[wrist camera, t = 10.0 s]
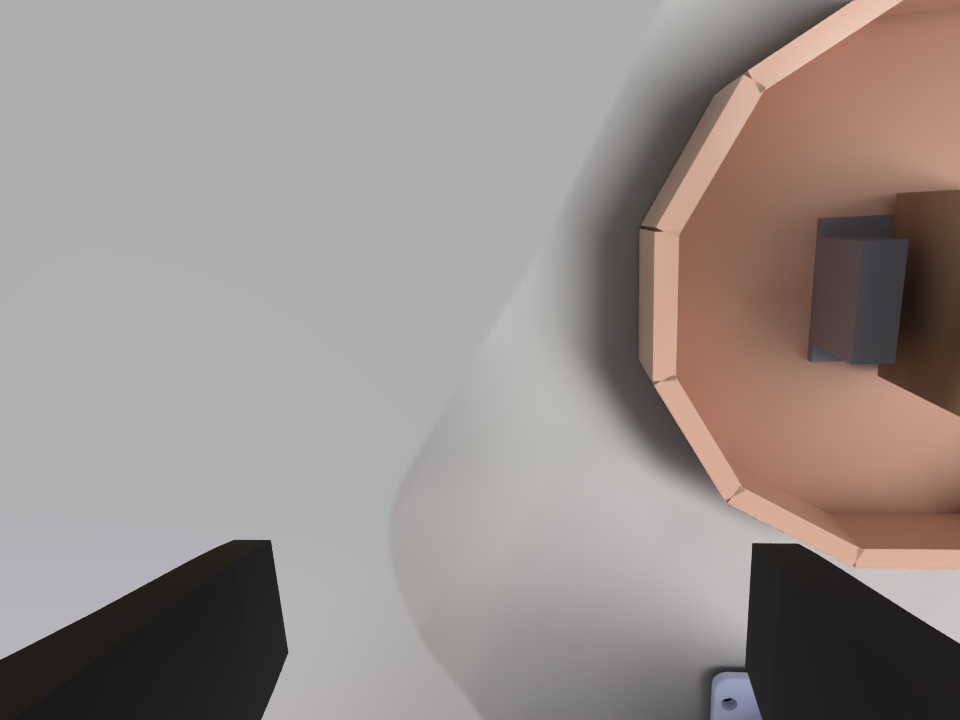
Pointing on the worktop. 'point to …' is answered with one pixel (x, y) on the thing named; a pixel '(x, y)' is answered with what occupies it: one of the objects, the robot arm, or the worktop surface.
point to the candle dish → (812, 286)
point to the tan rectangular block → (929, 298)
